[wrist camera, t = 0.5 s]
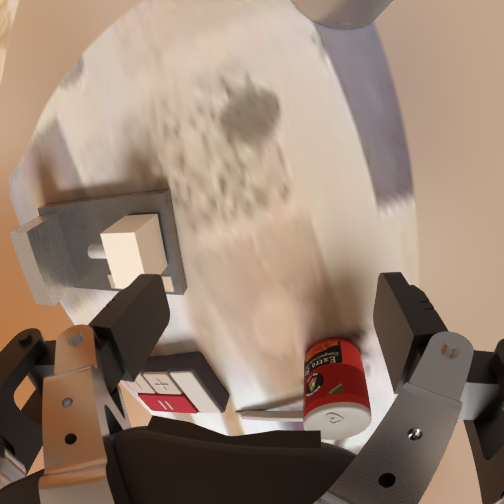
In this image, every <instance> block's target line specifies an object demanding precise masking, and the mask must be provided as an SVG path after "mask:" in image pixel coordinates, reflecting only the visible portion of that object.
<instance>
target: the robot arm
mask: <svg viewBox="0 0 504 504" xmlns="http://www.w3.org/2000/svg"><path fill="white" fill-rule="evenodd" d="M291 1H292V2H293V4H294V5H295V6H296V8H297V9H298V10H299V11H300V12H301V13H302V14H303V15H305V16H306V17H308V18H309V19H311V20H312V21H314V22H316V23H319V24H321V25H323V26H327V27H330V28H335V29H356V28H361V27H363V26H366V25H368V24H370V23H371V22H372V21H374V20H375V19H376V18H377V17H378V16H379V15H380V13H382V11H383V10H384V9H385V8H386V7H387V6H388V5H389V4H390V3H391V2H392V1H393V0H291ZM169 319H170V309H169V305H168V301H167V297H166V292H165V288H164V284H163V280H162V277H161V276H160V275H159V274H140V275H139V276H138V277H137V278H136V279H135V280H134V281H133V282H132V283H131V284H130V285H129V286H128V287H126V288H125V289H123V290H121V291H120V292H118V293H117V294H116V295H115V296H114V298H113V299H112V301H110V302H109V303H108V304H107V305H106V307H104V308H103V309H102V310H101V311H100V312H99V314H98V315H97V316H96V317H95V318H94V319H93V320H92V321H91V322H90V323H89V325H75V326H72V327H70V328H68V329H66V330H65V331H63V332H62V333H61V334H60V335H59V336H58V338H57V340H53V341H45V340H44V338H43V336H42V334H41V333H40V331H39V330H38V329H36V328H31V329H26V330H24V331H22V332H20V333H19V334H17V335H16V336H15V337H14V338H13V339H12V340H11V341H10V342H9V343H8V344H7V346H6V347H5V348H4V349H3V350H2V351H1V352H0V504H418V503H419V501H420V499H421V497H422V496H423V494H424V492H425V490H426V489H427V487H428V485H429V483H430V481H431V479H432V477H433V475H434V473H435V471H436V469H437V467H438V465H439V463H440V461H441V459H442V457H443V455H444V452H445V450H446V448H447V445H448V443H449V440H450V438H451V436H452V433H453V431H454V428H455V426H456V423H457V420H458V419H463V421H464V424H465V428H466V431H467V434H468V438H469V442H470V446H471V449H472V453H473V457H474V462H475V466H476V471H477V475H478V480H479V485H480V490H481V497H482V503H483V504H504V339H502V340H501V341H499V343H498V344H497V347H496V349H495V351H494V352H486V351H476V350H473V346H472V344H471V343H470V341H469V340H467V338H465V337H464V336H462V335H460V334H458V333H455V332H449V331H448V330H447V328H446V326H445V325H444V323H443V321H442V320H441V318H440V317H439V315H438V313H437V312H436V310H434V307H433V305H432V304H431V303H430V302H429V299H428V298H427V296H426V295H425V293H424V292H423V291H421V290H420V289H419V288H417V287H416V286H414V285H409V284H408V283H407V281H406V279H405V278H404V276H403V275H402V273H401V272H389V273H380V275H379V278H378V285H377V292H376V299H375V305H374V312H373V321H374V327H375V331H376V334H377V337H378V340H379V343H380V346H381V349H382V353H383V356H384V359H385V363H386V366H387V369H388V373H389V376H390V380H391V384H392V387H393V391H394V394H398V393H399V394H398V396H397V398H396V399H395V401H394V403H393V404H392V406H391V407H390V409H389V411H388V412H387V414H386V415H385V417H384V418H383V420H382V421H381V423H380V424H379V426H378V427H377V429H376V430H375V432H374V433H373V434H372V436H371V437H370V439H369V440H368V441H367V443H366V444H365V445H364V447H363V448H362V449H361V451H360V452H359V453H358V455H356V454H354V453H352V452H351V451H349V450H347V449H344V448H342V447H339V446H336V445H332V444H329V443H324V442H321V430H312V431H286V430H275V431H269V432H263V433H256V434H249V435H241V436H226V435H223V434H220V433H217V432H214V431H212V430H209V429H206V428H204V427H201V426H198V425H196V424H193V423H191V422H186V421H180V420H174V419H169V418H164V417H159V416H154V415H153V416H152V418H151V420H150V422H149V424H148V426H141V427H134V428H132V427H131V424H130V421H129V418H128V414H127V411H126V407H125V404H124V400H123V396H122V392H121V389H120V387H119V385H118V383H119V382H120V380H124V381H129V382H134V381H135V379H136V378H137V376H138V374H139V372H140V371H141V369H142V367H143V366H144V364H145V362H146V360H147V359H148V357H149V355H150V354H151V352H152V350H153V349H154V347H155V345H156V344H157V342H158V340H159V338H160V337H161V335H162V333H163V332H164V330H165V328H166V327H167V325H168V323H169ZM26 375H27V376H28V377H29V379H30V380H31V382H32V383H33V385H34V387H35V388H36V390H35V391H34V393H33V394H32V395H31V397H30V398H29V400H28V401H27V403H26V404H25V405H24V407H23V408H22V410H21V411H20V409H19V408H18V407H17V406H16V404H15V402H14V392H15V390H16V388H17V387H18V386H19V385H20V383H21V382H22V381H23V379H24V378H25V377H26ZM42 446H43V454H44V466H45V468H44V469H42V470H40V471H38V472H35V473H33V474H31V475H29V476H26V475H27V473H28V471H29V470H30V468H31V466H32V464H33V462H34V460H35V458H36V456H37V455H38V453H39V451H40V449H41V447H42Z"/></svg>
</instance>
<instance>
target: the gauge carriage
mask: <svg viewBox="0 0 504 504" xmlns="http://www.w3.org/2000/svg"><path fill="white" fill-rule="evenodd" d="M100 235H101V239H102V243H103V244H90V245H89V247H88V255H89V257H90V258H100V259H107V261H108V264H109V267H110V271H111V274H112V277H113V281H114V284H115V287H116V288H119V289H125V288H126V287H128V286H129V285H130V284H131V283H132V282H133V281H134V280H135V279H136V278H137V277H138V276H139V275H140V274H159V275H161V274H162V272H163V271H164V270H165V268H166V267H167V266H168V265H167V260H166V256H165V251H164V246H163V241H162V236H161V231H160V225H159V220H158V214H143V215H128V216H124V217H123V218H121V219H120V220H119V221H117V222H116V223H114V224H113V225H112V226H110V227H109V228H107V229H106V230H105V231H103V232H102V233H101V234H100Z"/></svg>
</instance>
